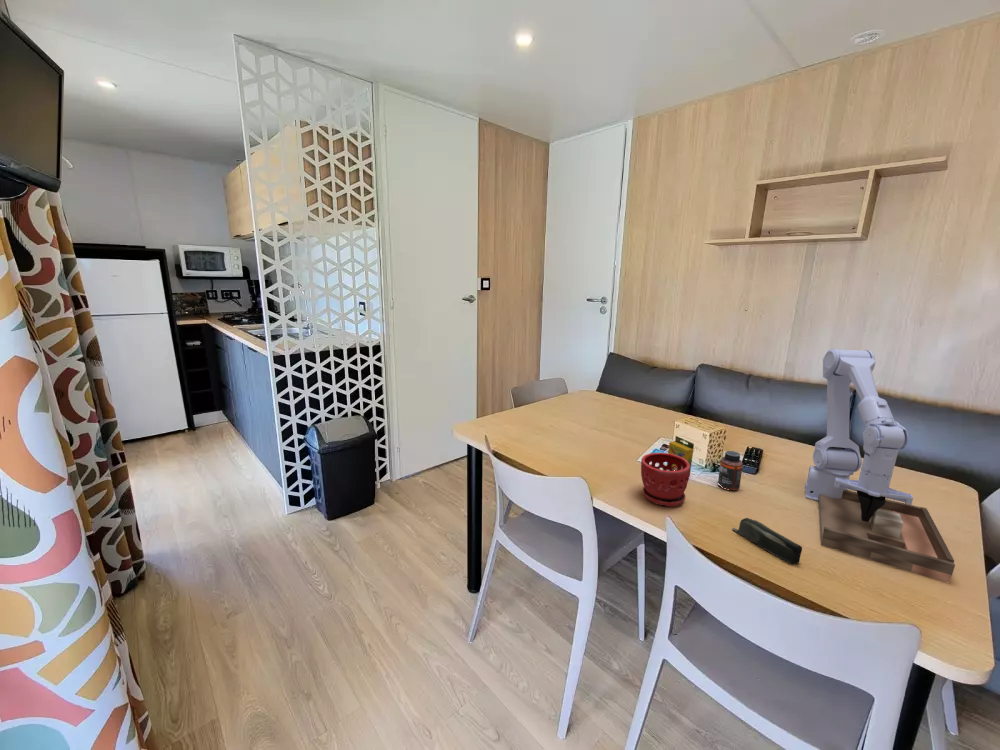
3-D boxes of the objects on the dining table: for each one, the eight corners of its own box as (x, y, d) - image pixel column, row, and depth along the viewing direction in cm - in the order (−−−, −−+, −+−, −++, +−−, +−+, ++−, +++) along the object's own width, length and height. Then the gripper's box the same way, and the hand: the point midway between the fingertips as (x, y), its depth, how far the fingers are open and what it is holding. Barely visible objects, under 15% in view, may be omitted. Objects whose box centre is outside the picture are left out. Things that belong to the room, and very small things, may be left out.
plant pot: (663, 484, 130) (667, 448, 127) (696, 505, 118) (701, 466, 115) (629, 491, 125) (632, 455, 122) (659, 514, 113) (664, 474, 110)
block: (872, 530, 103) (875, 516, 102) (869, 521, 107) (873, 507, 106) (899, 538, 100) (903, 523, 99) (895, 528, 104) (899, 514, 103)
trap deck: (821, 544, 101) (824, 526, 100) (817, 497, 122) (820, 482, 121) (949, 583, 88) (955, 563, 87) (920, 523, 110) (925, 506, 109)
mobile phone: (804, 545, 94) (740, 511, 106) (797, 549, 92) (733, 514, 105) (800, 563, 95) (737, 527, 107) (793, 568, 93) (730, 531, 106)
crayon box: (665, 468, 140) (669, 436, 137) (671, 467, 141) (675, 435, 138) (684, 478, 134) (688, 444, 131) (690, 476, 135) (694, 443, 132)
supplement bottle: (739, 485, 129) (744, 451, 126) (739, 493, 124) (744, 459, 121) (718, 480, 132) (722, 447, 129) (716, 488, 127) (721, 454, 124)
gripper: (840, 469, 103) (829, 517, 107) (920, 486, 95) (906, 537, 98) (838, 459, 109) (828, 505, 112) (914, 474, 101) (901, 523, 104)
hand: (864, 519), depth 106 cm, fingers closed
